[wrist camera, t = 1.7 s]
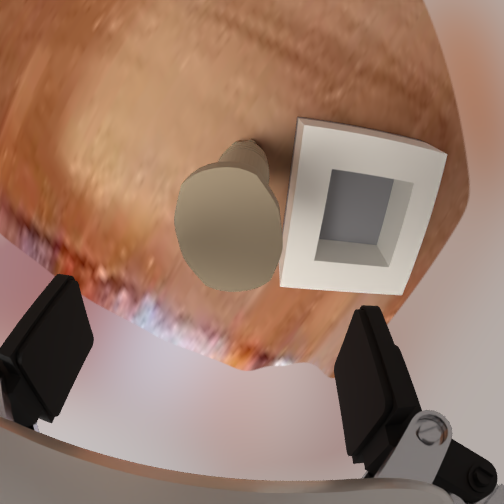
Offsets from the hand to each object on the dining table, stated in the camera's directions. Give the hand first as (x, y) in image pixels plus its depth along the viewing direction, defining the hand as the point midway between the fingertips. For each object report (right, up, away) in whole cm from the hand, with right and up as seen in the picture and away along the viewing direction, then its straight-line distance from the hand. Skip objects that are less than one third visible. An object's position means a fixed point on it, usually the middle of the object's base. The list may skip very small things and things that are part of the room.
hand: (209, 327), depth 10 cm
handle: (+1, +11, +18) cm, 21 cm away
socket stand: (+11, +7, +19) cm, 23 cm away
